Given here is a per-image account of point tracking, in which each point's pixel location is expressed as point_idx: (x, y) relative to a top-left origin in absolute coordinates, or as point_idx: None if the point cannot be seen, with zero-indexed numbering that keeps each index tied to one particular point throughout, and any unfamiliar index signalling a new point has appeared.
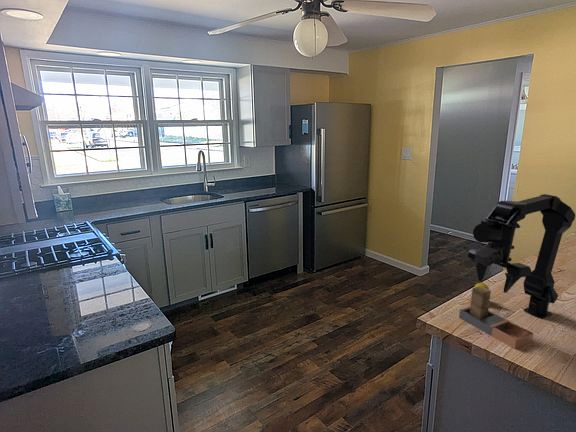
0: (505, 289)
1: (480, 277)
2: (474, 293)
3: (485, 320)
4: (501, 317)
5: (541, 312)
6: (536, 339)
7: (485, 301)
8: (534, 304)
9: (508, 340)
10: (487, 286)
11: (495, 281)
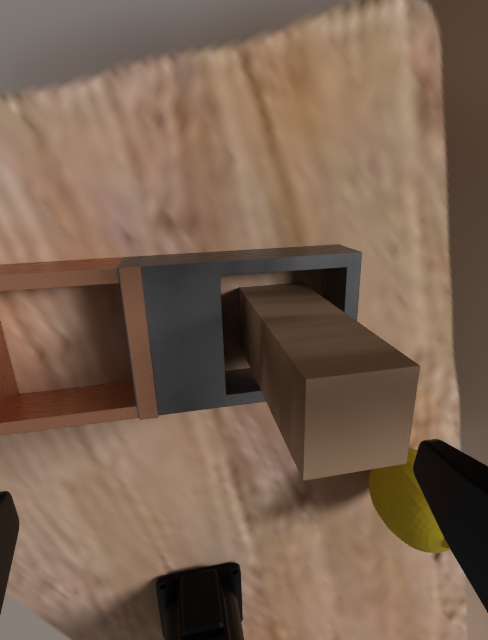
0: None
1: (462, 487)
2: (370, 351)
3: (202, 298)
4: (189, 408)
5: (170, 608)
6: (19, 440)
7: (275, 380)
8: (194, 626)
9: (2, 270)
10: (417, 547)
11: (448, 618)
